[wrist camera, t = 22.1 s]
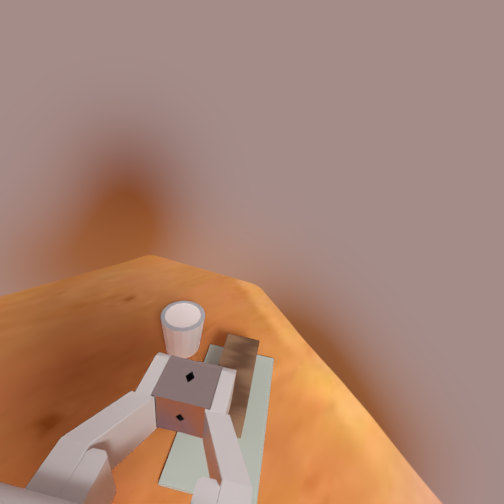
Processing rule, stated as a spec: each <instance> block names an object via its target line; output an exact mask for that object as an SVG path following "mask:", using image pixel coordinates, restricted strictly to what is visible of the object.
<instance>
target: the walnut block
mask: <svg viewBox="0 0 504 504" xmlns="http://www.w3.org/2000/svg"><path fill="white" fill-rule="evenodd" d="M258 346H259V340H255V339H250V338H246V337H241V336H237V335H232V334H228V336H227V339H226V342H225V345H224V348H223V351H222V354H221V358H220V361H219V364H218V366H223V367H225V368H230V369H234V370H237V371H236V378H235V384H234V389H233V395H232V400H231V405H230V409H229V413H228V415H230V417H231V420H232V424H233V427H234V430H235V433H236V436H237V438H240V439H241V435H242V430H243V426H244V421H245V416H246V411H247V405H248V400H249V395H250V389H251V384H252V378H253V373H254V368H255V362H256V357H257V351H258Z"/></svg>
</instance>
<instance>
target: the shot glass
mask: <svg viewBox="0 0 504 504" xmlns="http://www.w3.org/2000/svg"><path fill="white" fill-rule="evenodd" d="M160 316H161V323H162V329H163V334H164V340H165V346H166V351H167V352H168V354H169V355H173V356H177V357H181V358H189V357H191V356H192V355H194V354H195V353H196V352H197V351H198V349H199V345H200V340H201V335H202V330H203V324H204V319H205V312H204V309H203V308H202V307H201V306H200V305H199V304H197V303H194V302H192V301H177V302H174V303H171V304H169V305H168V306H167V307H165V308H164V309H163V311H162V313H161V315H160Z"/></svg>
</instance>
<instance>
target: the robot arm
mask: <svg viewBox="0 0 504 504" xmlns="http://www.w3.org/2000/svg"><path fill="white" fill-rule="evenodd" d="M236 371H237V370H234V369H230V368H225V367H223V366H218V365H213V364H208V363H204V362H199V361H193V360H189V359H185V358H181V357H177V356H173V355H169V354H165V353H161V352H159V353H158V354H157V355H156V356H155V357H154V359H153V361H152V362H151V364H150V366H149V368H148V370H147V371H146V373H145V375H144V377H143V378H142V380H141V382H140V384H139V385H138V387H137V389H136V391H135V392H134V391H130V392H128V393H127V394H125V395H124V396H122V397H121V398H119V399H118V400H116V401H115V402H113V403H112V404H110V405H109V406H107V407H106V408H104V409H103V410H101V411H100V412H98V413H97V414H95V415H94V416H92V417H91V418H89V419H88V420H86V421H85V422H83V423H82V424H80V425H79V426H77V427H76V428H74V429H73V430H71V431H70V432H68V433H67V434H65V435H64V436H62V437H61V438H60V440H59V441H58V442H57V444H56V445H55V447H54V448H53V449H52V451H51V452H50V454H49V455H48V456H47V458H46V459H45V461H44V462H43V463H42V465H41V466H40V468H39V469H38V471H37V472H36V473H35V475H34V476H33V478H32V479H31V480H30V482H29V483H28V485H27V486H26V487H25V488H21V487H17V486H14V485H10V484H7V483H3V482H0V504H111V503H112V501H113V499H114V497H115V494H116V487H115V483H114V479H113V476H112V472H111V470H113V469H114V468H115V467H116V466H117V465H118V464H119V463H120V462H121V461H122V460H123V459H124V458H125V457H127V456H128V455H129V454H130V453H131V452H132V451H133V450H134V449H135V448H136V447H137V446H138V445H139V444H140V443H142V442H143V441H144V440H145V439H146V438H147V437H148V436H149V435H150V434H151V433H152V432H153V431H154V430H156V427H159V428H164V429H168V430H173V431H177V432H181V433H185V434H188V435H192V436H195V437H199V438H203V445H204V450H205V456H206V461H207V466H208V471H209V477H210V478H207V477H203V476H202V477H201V478H200V479H198V480H197V483H196V486H195V490H194V493H193V496H192V500H191V503H190V504H251V498H252V491H253V487H252V484H251V481H250V478H249V475H248V471H247V468H246V465H245V462H244V459H243V455H242V452H241V449H240V446H239V443H238V439H237V436H236V433H235V430H234V427H233V424H232V420H231V417H230V415H228V413H229V409H230V405H231V400H232V395H233V389H234V384H235V378H236Z"/></svg>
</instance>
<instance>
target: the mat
mask: <svg viewBox="0 0 504 504" xmlns="http://www.w3.org/2000/svg"><path fill="white" fill-rule="evenodd" d="M223 348H224V347H221V346H217V345H212V344H210V347H209V349H208V352H207V355H206V357H205V360H204V363H208V364H213V365H218V364H219V361H220V358H221V354H222V351H223ZM273 362H274V358H270V357H265V356H261V355H257V357H256V362H255V368H254V373H253V378H252V384H251V389H250V395H249V400H248V405H247V411H246V416H245V421H244V426H243V430H242V435H241V439H240V438H237V439H238V443H239V446H240V449H241V452H242V455H243V459H244V462H245V465H246V468H247V471H248V475H249V478H250V481H251V484H252V487H253V491H252V498H251V504H257V498H258V489H259V481H260V472H261V464H262V455H263V447H264V438H265V430H266V421H267V413H268V405H269V396H270V388H271V379H272V371H273ZM202 476H203V477H207V478H210V477H209V471H208V466H207V461H206V456H205V450H204V445H203V438H199V437H195V436H192V435H188V434H185V433H181V432H177V435H176V437H175V440H174V443H173V445H172V448H171V451H170V453H169V456H168V459H167V461H166V464H165V467H164V469H163V472H162V475H161V477H160V480H159V483H158V485H159V486H163V487H167V488H170V489H174V490H178V491H182V492H185V493H189V494H193V493H194V490H195V486H196V483H197V480H198V479H200V478H201V477H202Z"/></svg>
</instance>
